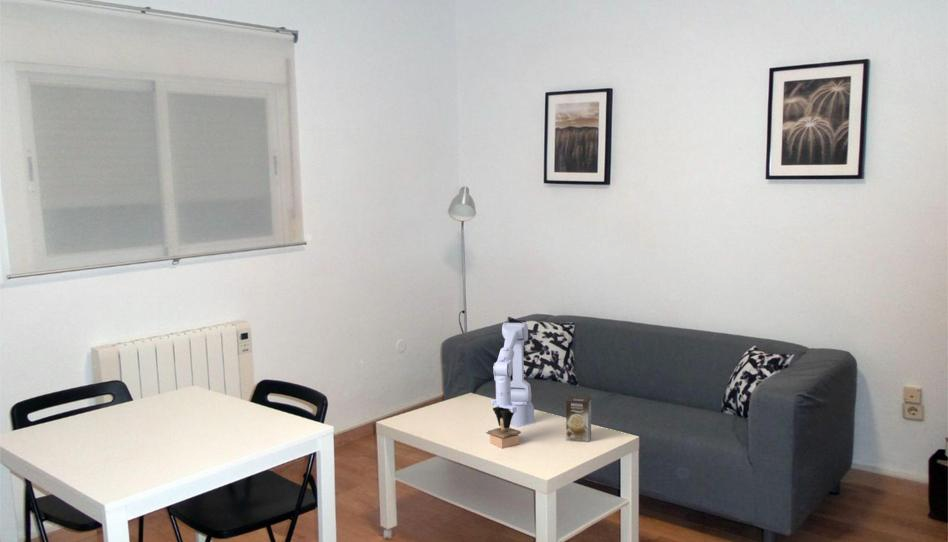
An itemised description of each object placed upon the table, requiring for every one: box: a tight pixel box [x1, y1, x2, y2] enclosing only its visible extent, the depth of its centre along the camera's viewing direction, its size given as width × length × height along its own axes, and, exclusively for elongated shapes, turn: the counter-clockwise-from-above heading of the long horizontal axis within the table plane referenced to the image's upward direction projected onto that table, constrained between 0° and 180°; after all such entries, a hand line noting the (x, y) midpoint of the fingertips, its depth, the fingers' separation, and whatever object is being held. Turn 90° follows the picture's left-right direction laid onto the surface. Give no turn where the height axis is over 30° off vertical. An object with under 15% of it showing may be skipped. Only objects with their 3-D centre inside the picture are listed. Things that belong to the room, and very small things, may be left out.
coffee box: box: [565, 396, 592, 443], centre depth 300 cm, size 9×6×16 cm
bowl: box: [489, 434, 520, 450], centre depth 296 cm, size 8×8×4 cm
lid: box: [487, 418, 522, 438], centre depth 296 cm, size 9×9×6 cm
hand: (504, 426), depth 296 cm, fingers closed on lid, 3 cm apart
